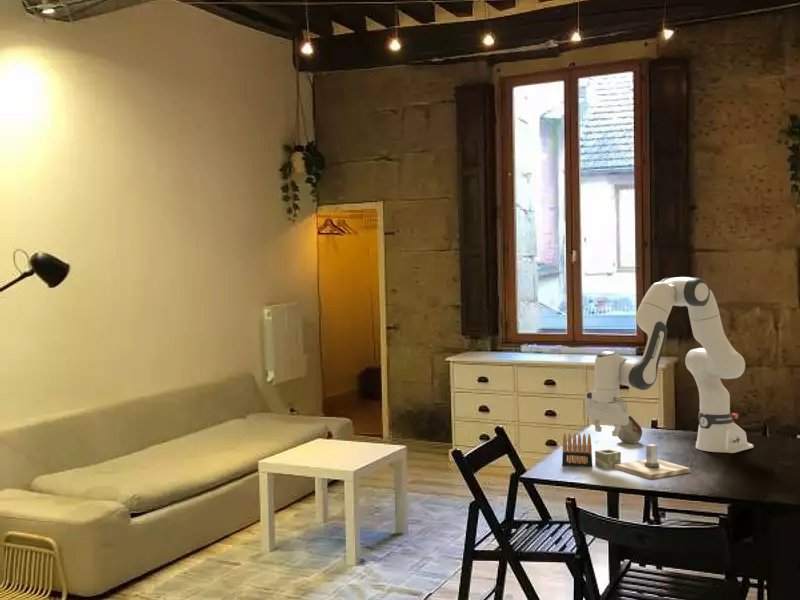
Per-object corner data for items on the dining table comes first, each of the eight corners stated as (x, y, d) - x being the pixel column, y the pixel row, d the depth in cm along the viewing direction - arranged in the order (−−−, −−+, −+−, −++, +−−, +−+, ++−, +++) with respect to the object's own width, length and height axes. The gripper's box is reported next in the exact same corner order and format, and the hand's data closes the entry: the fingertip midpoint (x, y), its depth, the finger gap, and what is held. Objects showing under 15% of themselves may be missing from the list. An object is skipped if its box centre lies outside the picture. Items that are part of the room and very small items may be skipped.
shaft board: (653, 462, 321) (653, 437, 320) (689, 472, 304) (689, 446, 304) (614, 468, 313) (614, 443, 312) (650, 479, 296) (649, 453, 296)
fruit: (613, 443, 353) (613, 414, 352) (620, 439, 361) (620, 410, 360) (638, 446, 347) (638, 416, 347) (645, 441, 355) (645, 412, 355)
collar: (609, 462, 322) (608, 448, 322) (620, 465, 316) (620, 452, 316) (595, 464, 319) (595, 450, 319) (606, 468, 313) (606, 454, 313)
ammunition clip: (592, 466, 317) (592, 433, 316) (591, 467, 315) (591, 434, 314) (562, 464, 320) (562, 432, 320) (562, 465, 318) (561, 433, 318)
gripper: (633, 399, 308) (633, 437, 309) (595, 391, 327) (595, 428, 327) (619, 400, 305) (619, 439, 306) (582, 392, 324) (582, 429, 324)
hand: (606, 433), depth 317 cm, fingers open, 8 cm apart
